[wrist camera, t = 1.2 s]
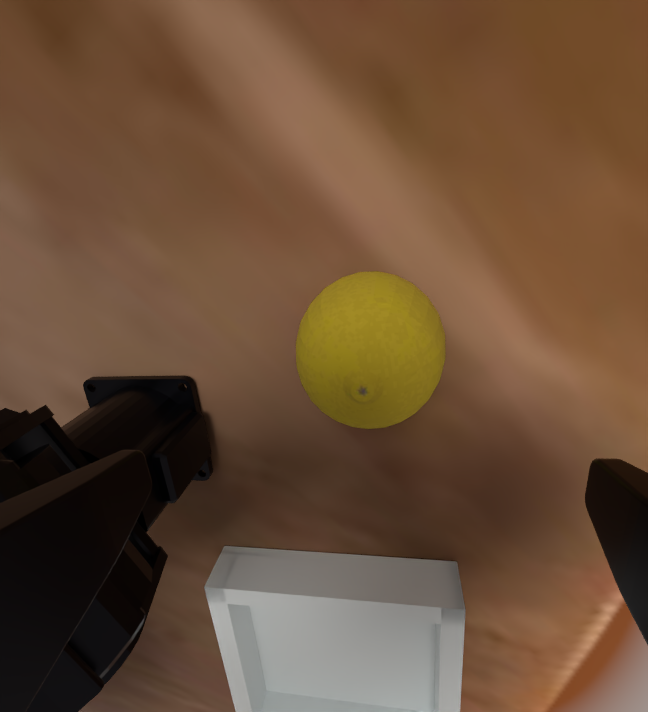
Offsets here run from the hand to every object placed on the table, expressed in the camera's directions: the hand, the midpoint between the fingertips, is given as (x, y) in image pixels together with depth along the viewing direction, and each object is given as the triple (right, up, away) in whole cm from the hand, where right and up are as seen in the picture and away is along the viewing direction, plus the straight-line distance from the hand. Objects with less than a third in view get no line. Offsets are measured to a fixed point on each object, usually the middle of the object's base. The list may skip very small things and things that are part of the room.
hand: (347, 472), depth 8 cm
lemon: (+2, +4, +11) cm, 12 cm away
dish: (+1, -17, +19) cm, 25 cm away
